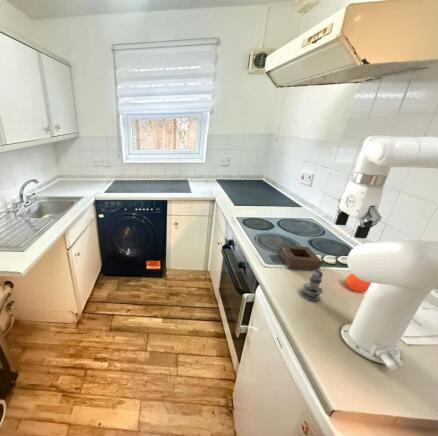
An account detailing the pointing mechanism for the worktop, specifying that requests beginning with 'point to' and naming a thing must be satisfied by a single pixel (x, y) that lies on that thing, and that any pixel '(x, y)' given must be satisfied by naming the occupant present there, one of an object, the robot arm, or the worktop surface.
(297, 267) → the socket
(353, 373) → the worktop surface
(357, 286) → the clementine
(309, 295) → the grey tiered tall piece
